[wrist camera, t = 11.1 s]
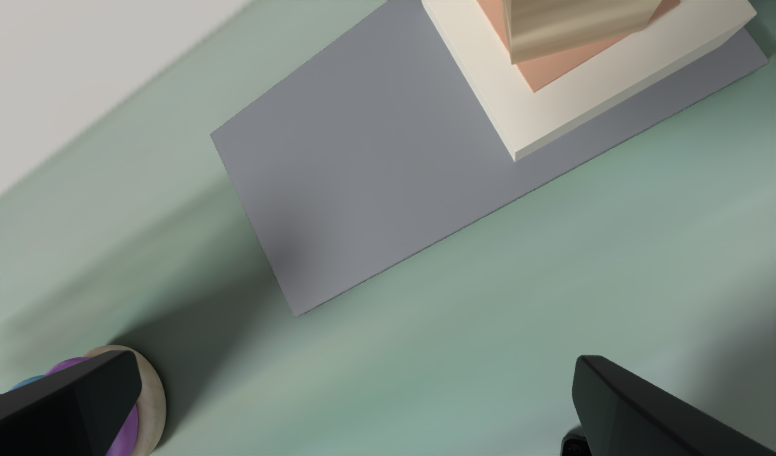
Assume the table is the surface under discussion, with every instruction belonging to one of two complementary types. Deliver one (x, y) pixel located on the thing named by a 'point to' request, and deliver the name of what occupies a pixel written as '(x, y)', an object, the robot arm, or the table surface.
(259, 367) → the table surface
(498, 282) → the table surface
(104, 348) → the stacking toy
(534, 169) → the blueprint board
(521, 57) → the maple pillar
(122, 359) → the robot arm
